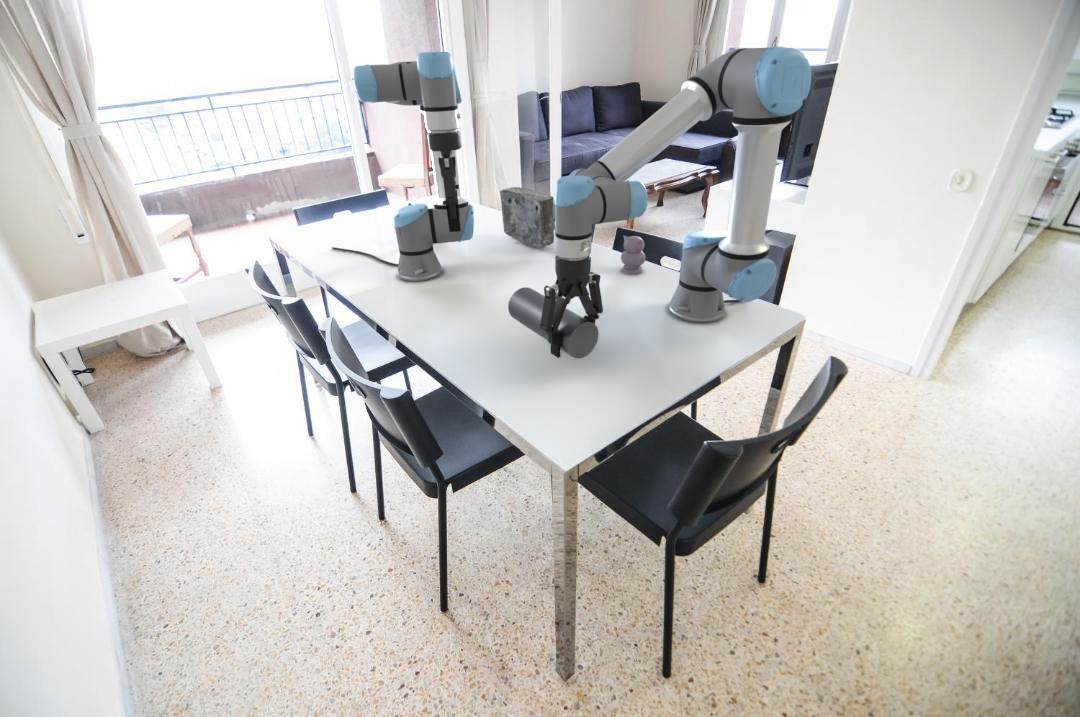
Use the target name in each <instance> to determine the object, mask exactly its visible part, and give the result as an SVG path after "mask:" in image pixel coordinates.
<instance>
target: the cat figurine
mask: <svg viewBox="0 0 1080 717" xmlns="http://www.w3.org/2000/svg"><path fill="white" fill-rule="evenodd" d="M623 249H624V250H623V252H622V253H621V255H620V260H621V262H622V264H623V265H622V273H624V274H628V275H637V274H640V273H642V265H644V264H645V262H646V254H645V253H644V252H643V251H644V249H645V242H644V239H642V238H641V236H637V235H631V236H627V235H624V234H623Z"/></svg>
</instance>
